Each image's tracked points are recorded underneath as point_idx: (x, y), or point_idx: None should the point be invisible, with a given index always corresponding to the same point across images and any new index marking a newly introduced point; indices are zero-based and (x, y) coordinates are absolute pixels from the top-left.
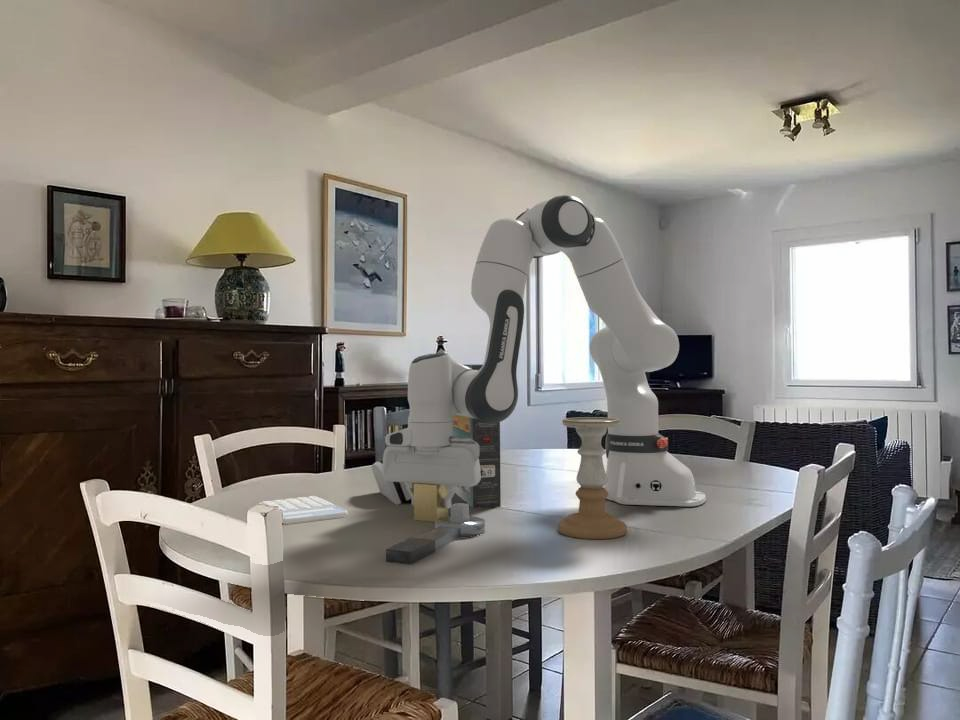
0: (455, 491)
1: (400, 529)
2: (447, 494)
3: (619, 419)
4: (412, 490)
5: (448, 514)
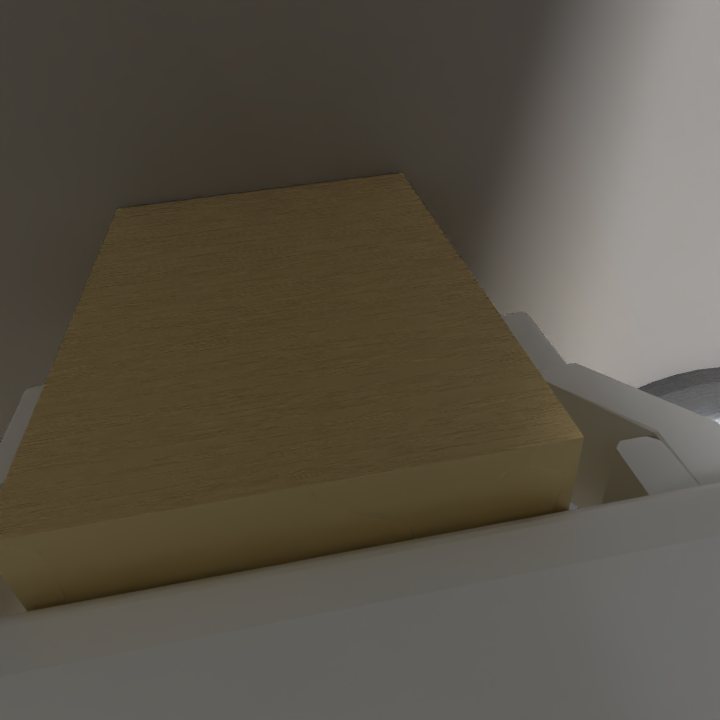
0: (680, 409)
1: None
2: (588, 505)
3: None
4: (5, 594)
5: (408, 183)
